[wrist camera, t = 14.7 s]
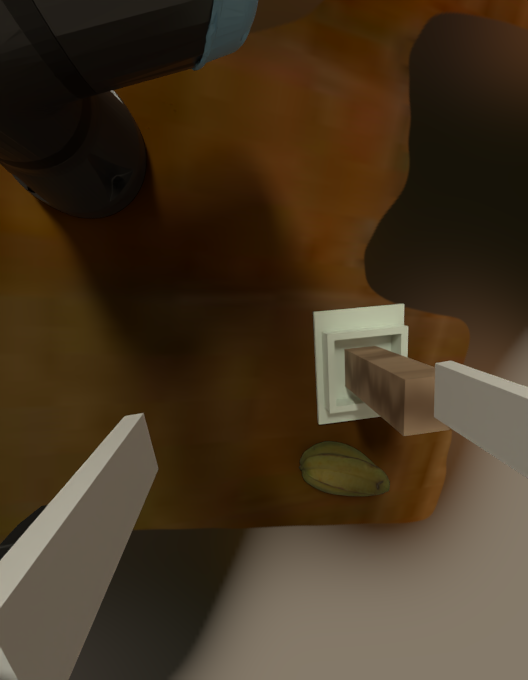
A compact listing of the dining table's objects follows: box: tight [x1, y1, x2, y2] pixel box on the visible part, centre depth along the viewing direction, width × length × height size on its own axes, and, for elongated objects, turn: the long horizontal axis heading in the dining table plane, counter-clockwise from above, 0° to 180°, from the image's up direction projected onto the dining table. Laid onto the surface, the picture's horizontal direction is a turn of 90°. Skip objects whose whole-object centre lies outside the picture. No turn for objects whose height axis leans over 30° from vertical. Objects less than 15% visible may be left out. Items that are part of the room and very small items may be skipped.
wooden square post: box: [344, 346, 450, 436], centre depth 31 cm, size 6×5×14 cm
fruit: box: [299, 441, 390, 496], centre depth 38 cm, size 11×12×7 cm
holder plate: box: [313, 304, 408, 425], centre depth 37 cm, size 18×14×3 cm
